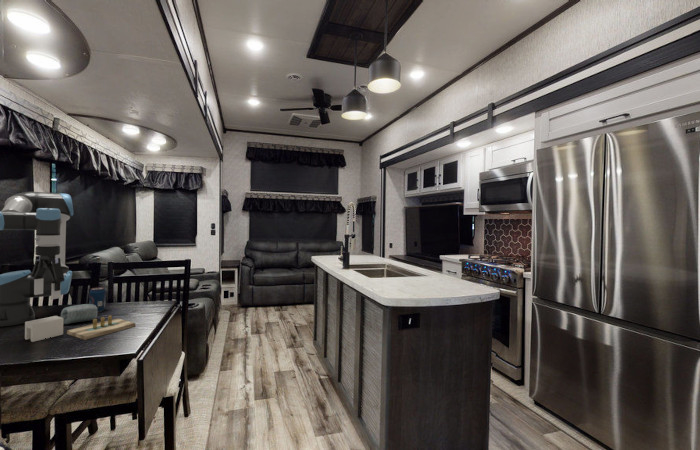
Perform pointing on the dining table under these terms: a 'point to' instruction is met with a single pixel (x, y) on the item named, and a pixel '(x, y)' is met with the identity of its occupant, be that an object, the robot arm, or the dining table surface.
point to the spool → (79, 313)
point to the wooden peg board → (100, 328)
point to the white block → (43, 328)
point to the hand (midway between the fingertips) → (47, 296)
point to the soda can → (97, 298)
